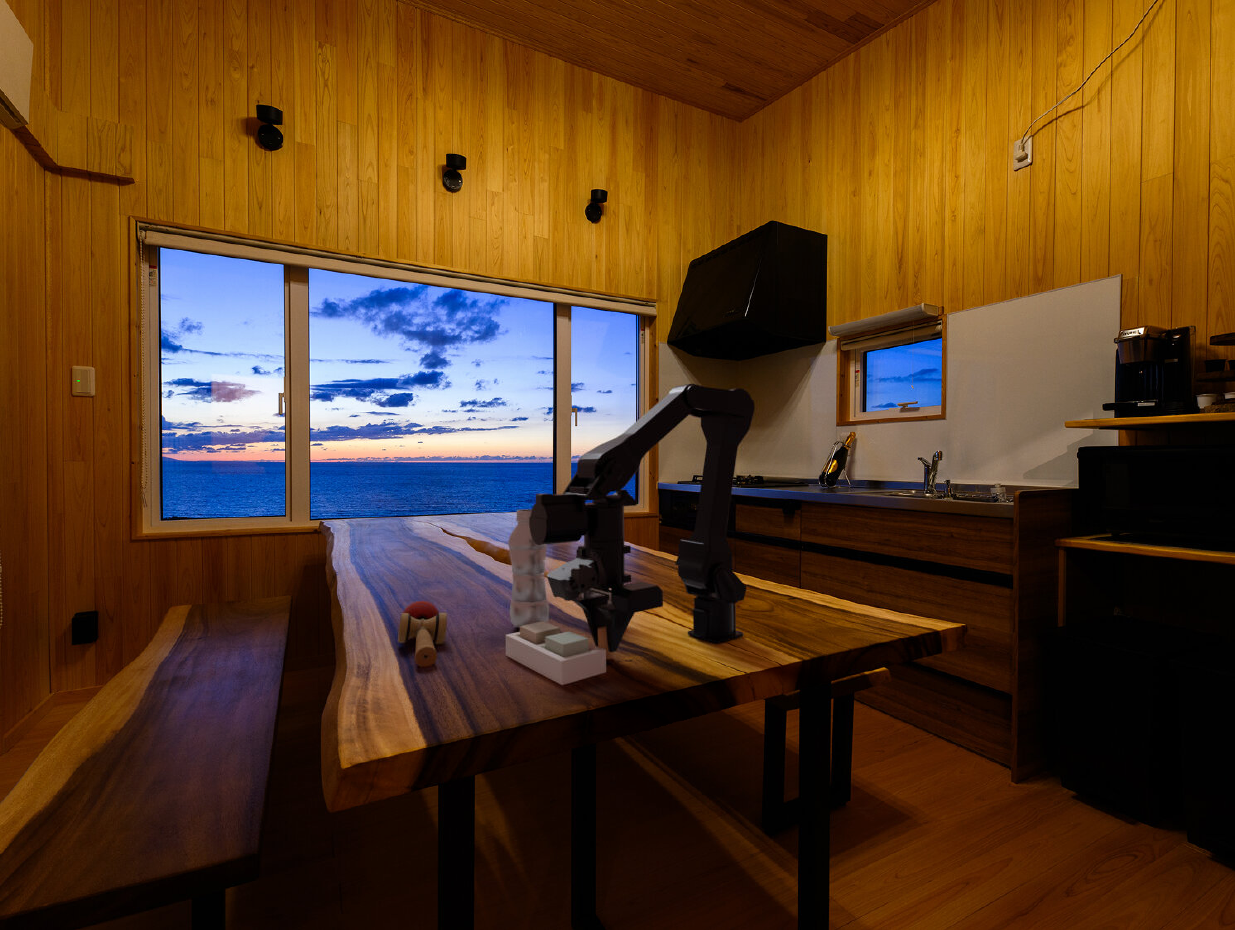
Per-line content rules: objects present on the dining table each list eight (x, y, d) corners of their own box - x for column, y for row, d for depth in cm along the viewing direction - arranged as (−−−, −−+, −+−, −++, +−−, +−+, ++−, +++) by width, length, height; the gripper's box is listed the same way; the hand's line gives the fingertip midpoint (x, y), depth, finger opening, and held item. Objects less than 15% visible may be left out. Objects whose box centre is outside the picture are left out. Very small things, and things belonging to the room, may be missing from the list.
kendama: (460, 671, 84) (447, 622, 101) (452, 630, 83) (440, 587, 99) (404, 689, 82) (399, 635, 98) (394, 647, 80) (391, 600, 97)
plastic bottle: (542, 633, 97) (540, 511, 97) (503, 631, 98) (501, 511, 98) (554, 622, 103) (552, 508, 103) (517, 621, 105) (516, 508, 104)
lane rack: (546, 645, 91) (546, 625, 91) (606, 672, 79) (605, 649, 79) (505, 655, 86) (505, 634, 86) (561, 685, 75) (561, 661, 75)
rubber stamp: (602, 654, 86) (602, 623, 86) (621, 662, 83) (621, 630, 83) (545, 669, 80) (545, 636, 80) (563, 679, 77) (563, 644, 77)
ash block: (543, 651, 88) (543, 621, 88) (560, 658, 85) (559, 627, 85) (520, 656, 86) (519, 626, 86) (536, 665, 82) (535, 632, 82)
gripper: (521, 538, 86) (523, 645, 86) (597, 552, 71) (599, 681, 72) (584, 531, 93) (585, 630, 93) (665, 543, 78) (666, 661, 78)
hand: (605, 648), depth 84 cm, fingers open, 3 cm apart
